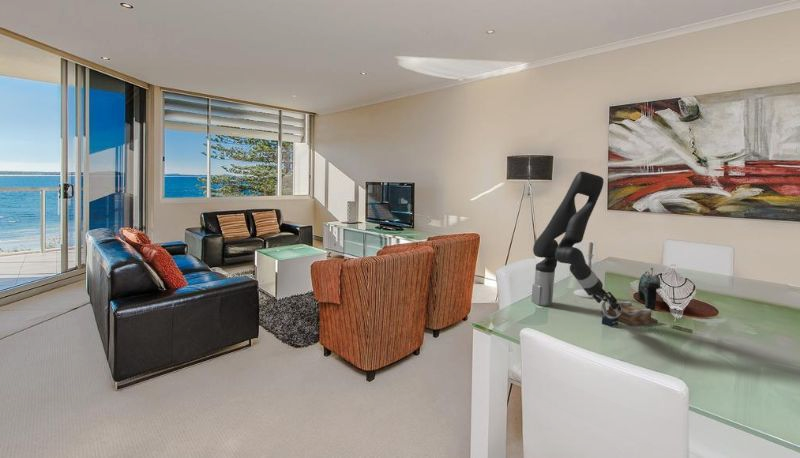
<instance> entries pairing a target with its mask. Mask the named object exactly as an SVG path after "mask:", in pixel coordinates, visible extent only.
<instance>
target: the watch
mask: <svg viewBox="0 0 800 458" xmlns="http://www.w3.org/2000/svg"><path fill="white" fill-rule="evenodd" d="M606 304H607V302H606V301H603V302H602V303H601V312H602V311H603V313H604V314H603V316H602V318H601V324H602V325H604V326H608V327H610V328H612V327H615V326H618V325H619V321H618V316H620V315H621V312H622V307H621V305H620V303H619V301H617V302H616V304H617V306H618V307H617V308H616V309H614V311H615V312H616V314H617V316H616V317H615V316H612V315H608V312H607V310H608V309H607V306H606Z"/></svg>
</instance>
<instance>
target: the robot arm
mask: <svg viewBox="0 0 800 458" xmlns="http://www.w3.org/2000/svg"><path fill="white" fill-rule="evenodd" d="M603 187H604V178H603V177H602V176H600V175H596V174H593V173H590V172H587V171H579V172H577V174H576V175H575V176H574V179H573V180H572V182H571V183H570V186H569V188H568V190H567V192H566V194H565V196H564V198H563V199H562V201H561V203H560V204H559V206H558V208H557V209H556V210H555V212H554V214H553V215H552V217H551V219H550V221H549V223H548V224H547V226H546V227H545V229H544V230H543V231H542V233H540V235H539V236H538V238H537V239H536V240H535V242H534V244H533V248H532V252H533V254H534V256H535V257H537V258H544V259H542V260H541V261H539V262H537V263H536V264H535V273H534V283H533V284H532V289H531V290H532V291H531V302H532V303H533V302H534V303H533V304H536V305H537V306H542V307H543V306H546V307H548V306H552V305H553V299H554V298H553V296H554V288H555V286H554V285H555V274H556V273H555V272H556V268H557V265H558V263H561V264H567V265H569V271H570V273H571V274H572V275H573V276H574V278H575V279H576V281H577V282H578V284H579V285H580V286H581V287H582V289H584V290H585V291H586V292H587V294H588V295H589V296H590V295H591V296H592V297H593V298H594V299H593V300H595V301H596V302H597V303H598V304H600V303H601V302H602V301H603V302H604V301H606V304H609V306H611V307H612V308H613V309H616V308H617V307H618V306H617V304H616V302H618V300H617V298H616V297H615V296H614V295H613V294H612V292H610V291H606V290H605V289H604V288H603V287H604V286H603V282H602V281H601V280H600V278H599V277H598V275H596V273H595V271H593V270H592V268H591V269H590V268H589V266H588V265H587V262H586V261H587V260H586V259H585V256H584V253H583V252H582V250H580V249H579V248H578V247H574V245H576V244H579V243H582V241H583V240H584V235H585V232H586V229H587V225H588V222H589V220H590V217H591V215H592V214H593V210H594V209H595V206H596V204H597V202H598V199H599V198H600V195H601V192H602V190H603ZM577 194H580V195H583V196H586V197H588V198H587V201H586V202H585V204H584V205H583V206H582V207H581V208H580V209H579V210H578V211H577V207H576V200H575V199H576V196H577ZM563 234H564V236H562V235H563ZM561 236H562V239H561V240H560V242H558V241H557V240H555V239H557V238H559V237H561Z"/></svg>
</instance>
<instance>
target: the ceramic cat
mask: <svg viewBox="0 0 800 458" xmlns="http://www.w3.org/2000/svg"><path fill="white" fill-rule="evenodd" d="M650 270H651V274H650V272H649V271H645V273H643V274H642V275H641V277H640V279H639V282H638V285H637V286H638V287H637V300H638V299H639V300H638V301H640V300H645V301H644V303H645V304H644V307H646V308H645V309H651V311H656V305H657V290H659V289H661V278H660V277H659V274H657V273H656V274H654V275H653V272H654V271H653V270H654V268H653V267H651V268H650ZM647 273H648V274H647Z"/></svg>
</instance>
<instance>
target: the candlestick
mask: <svg viewBox="0 0 800 458" xmlns="http://www.w3.org/2000/svg"><path fill="white" fill-rule="evenodd" d="M593 250H594V242H592V241H591V242H588V253H586V257H587V260H586V261H587V262H586V264H587V265H588V266H589V268H590V269H591V270H592V259H593V256H594V254H593ZM573 295H575V296H576V297H579V298H582V299H591V300H595V299H594V298H593V297H592V296H591V295H590V296H589V295H588V294H587V292H586V291H585V290H584V289H583V288H580V289H576V290H574V291H573Z"/></svg>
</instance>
